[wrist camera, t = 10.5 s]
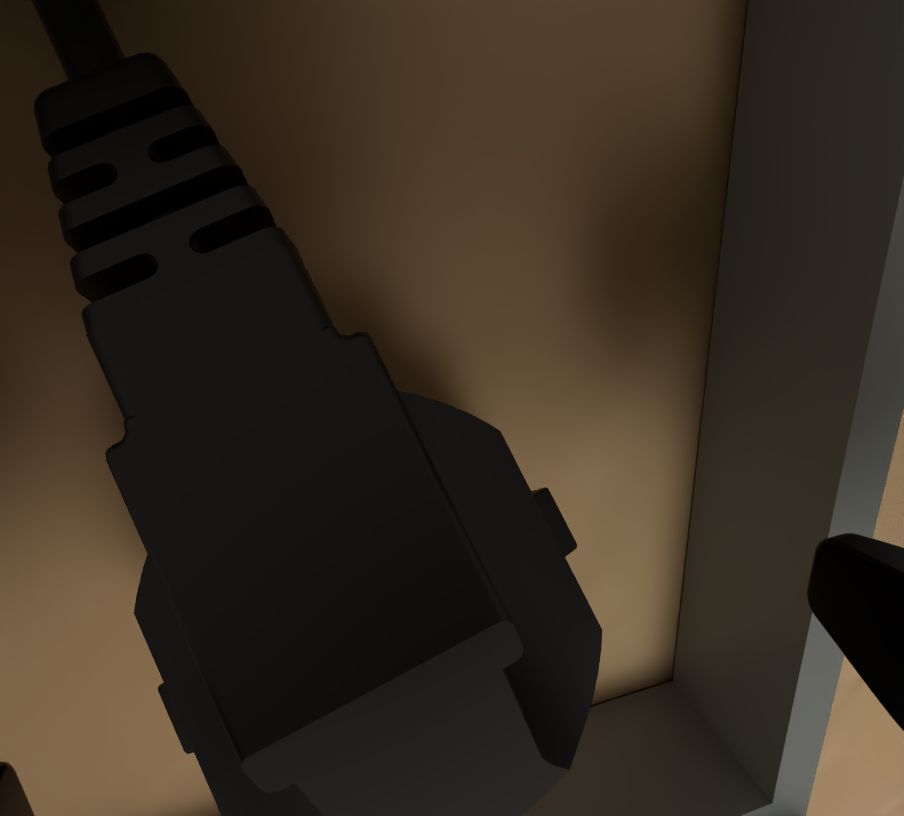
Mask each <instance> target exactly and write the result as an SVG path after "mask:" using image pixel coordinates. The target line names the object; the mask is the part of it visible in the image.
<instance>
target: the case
mask: <svg viewBox="0 0 904 816" xmlns="http://www.w3.org/2000/svg"><path fill="white" fill-rule="evenodd" d="M903 408H904V0H749V1H748V10H747V19H746V28H745V37H744V46H743V55H742V64H741V73H740V82H739V91H738V100H737V109H736V118H735V127H734V136H733V145H732V154H731V163H730V171H729V180H728V189H727V198H726V207H725V216H724V225H723V234H722V243H721V252H720V261H719V270H718V279H717V288H716V297H715V306H714V315H713V324H712V333H711V342H710V351H709V360H708V369H707V378H706V387H705V396H704V404H703V413H702V422H701V431H700V440H699V449H698V458H697V467H696V476H695V485H694V494H693V503H692V512H691V521H690V530H689V539H688V548H687V557H686V566H685V575H684V584H683V593H682V602H681V611H680V620H679V628H678V637H677V646H676V655H675V664H674V673H673V681H671V682H668V683H665V684H662V685H658V686H655V687H652V688H649V689H646V690H642V691H639V692H636V693H633V694H630V695H627V696H623V697H620V698H617V699H614V700H611V701H608V702H604V703H601V704H598V705H595V706H592V707H590V710H589V713H588V717H587V720H586V723H585V726H584V729H583V732H582V735H581V738H580V741H579V744H578V747H577V750H576V753H575V756H574V759H573V762H572V765H571V768H570V770H569V771H568V772H567V773H566V774H565V775H564V776H563V777H562V778H561V779H560V781H559V782H558V783H557V784H556V785H555V786H554V787H553V788H552V789H551V790H550V791H549V792H548V793H547V794H546V795H545V796H543V797H542V798H541V799H540V800H539V801H538V802H537V803H536V804H535V805H533V806H532V807H531V808H530V809H529V810H527V811H526V812H525V813H524V814H523V815H521V816H806V812H807V807H808V803H809V799H810V795H811V791H812V787H813V782H814V778H815V774H816V770H817V766H818V762H819V758H820V753H821V749H822V745H823V741H824V737H825V733H826V728H827V724H828V720H829V716H830V712H831V708H832V703H833V699H834V695H835V691H836V687H837V683H838V679H839V674H840V670H841V666H842V662H843V658H844V654H843V652H842V651H841V650H840V648H839V647H838V646H837V644H836V643H835V642H834V640H833V639H832V638H831V636H830V635H829V634H828V632H827V631H826V630H825V629H824V627H823V626H822V625H821V623H820V622H819V621H818V619H817V618H816V617H815V615H814V614H813V612H812V611H811V609H810V606H809V604H808V601H807V594H806V593H807V586H808V581H809V576H810V571H811V566H812V561H813V556H814V552H815V548H816V546H817V545H818V543H819V542H820V541H822V540H823V539H826V538H830V537H833V536H837V535H841V534H845V533H854V534H858V535H862V536H865V537H869V538H872V537H873V533H874V529H875V525H876V520H877V516H878V512H879V508H880V504H881V500H882V496H883V491H884V487H885V483H886V479H887V475H888V471H889V466H890V462H891V458H892V454H893V450H894V446H895V441H896V437H897V433H898V429H899V425H900V421H901V417H902V412H903Z"/></svg>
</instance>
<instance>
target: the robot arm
mask: <svg viewBox="0 0 904 816" xmlns="http://www.w3.org/2000/svg"><path fill="white" fill-rule="evenodd" d="M806 594H807V601H808V604H809V606H810V609H811V611H812V612H813V614H814V615H815V617H816V618H817V619H818V621H819V622H820V623H821V625H822V626H823V627H824V629H825V630H826V631H827V632H828V634H829V635H830V636H831V638H832V639H833V640H834V642H835V643H836V644H837V646H838V647H839V648H840V650H841V651H842V652H843V654H844V655H845V656H846V658H847V659H848V660H849V662H850V663H851V664H852V666H853V667H854V668H855V670H856V671H857V672H858V674H859V675H860V676H861V678H862V679H863V680H864V682H865V683H866V684H867V686H868V687H869V688H870V690H871V691H872V692H873V694H874V695H875V696H876V698H877V699H878V700H879V702H880V703H881V704H882V705H883V707H884V708H885V709H886V710H887V712H888V713H889V714H890V716H891V717H892V718H893V719H894V720H895V722H896V723H897V724H898V725H899V726H900V727H901V729H902V730H903V731H904V548H902V547H899V546H896V545H892V544H889V543H886V542H882V541H879V540H875V539H872V538H869V537H865V536H862V535H858V534H854V533H845V534H841V535H837V536H833V537H830V538H826V539H823V540H822V541H820V542H819V543H818V545H817V546H816V548H815V552H814V556H813V561H812V566H811V571H810V576H809V581H808V586H807V593H806ZM0 816H35V815H34V813H33V811H32V808H31V806H30V804H29V802H28V799H27V797H26V795H25V792H24V790H23V788H22V785H21V783H20V781H19V778H18V776H17V774H16V772H15V770H14V768H13V767H12V766H11V765H10V764H9V763H7V762H0Z"/></svg>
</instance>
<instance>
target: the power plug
mask: <svg viewBox="0 0 904 816" xmlns="http://www.w3.org/2000/svg"><path fill="white" fill-rule="evenodd" d="M31 1H32V3H33V5H34V7H35V9H36V11H37V13H38V16H39V18H40V20H41V22H42V24H43V26H44V29H45V31H46V33H47V35H48V37H49V39H50V41H51V44H52V46H53V48H54V50H55V52H56V54H57V57H58V59H59V61H60V63H61V65H62V67H63V69H64V72H65V74H66V76H67V78H68V81H66V82H63V83H61V84H58V85H56V86H53V87H50V88H48V89H45V90H44V91H43V92H41V93H40V94H39V95H38V96H37V98H36V100H35V101H34V113H35V117H36V122H37V126H38V130H39V134H40V139H41V143H42V146H43V148H44V150H45V151H46V152H47V153H48V154H49V155H50V157H51V158H52V159H51V160H50V162H49V163H48V167H47V169H48V173H49V177H50V181H51V186H52V190H53V192H54V194H55V196H56V197H57V198H58V199H59V200H60V201H61V202H62V203H63V204H65V205H64V206H63V207H62V208H61V209H60V210H59V214H58V216H59V220H60V224H61V229H62V233H63V237H64V240H65V242H66V243H67V244H68V245H69V246H70V247H71V248H73V249H74V250H75V251H76V252H77V253H78V254H76V255H75V256H74V257H73V258H72V259H71V261H70V267H71V271H72V276H73V280H74V284H75V288H76V290H77V292H78V293H80V294H81V295H82V296H84V297H85V298H87V299H88V300H89V301H91V302H92V303H91V304H89V305H88V306H87V307H86V308H85V309H83V311H82V318H83V321H84V325H85V328H86V332H87V337H88V340H89V342H90V344H91V346H92V349H93V351H94V353H95V355H96V357H97V360H98V362H99V364H100V366H101V368H102V371H103V373H104V375H105V377H106V379H107V382H108V384H109V386H110V388H111V390H112V393H113V395H114V397H115V399H116V401H117V404H118V406H119V408H120V410H121V412H122V415H123V417H124V419H125V421H124V428H125V436H124V438H123V439H122V440H121V441H119V442H118V443H116V444H114V445H112V446H111V447H110V448H108V449H107V451H106V453H105V455H106V461H107V463H108V466H109V468H110V470H111V472H112V475H113V477H114V479H115V481H116V484H117V486H118V488H119V490H120V493H121V495H122V497H123V499H124V502H125V504H126V506H127V508H128V511H129V513H130V515H131V517H132V520H133V522H134V524H135V526H136V529H137V531H138V533H139V535H140V538H141V540H142V542H143V544H144V547H145V549H146V551H147V553H148V555H147V558H146V561H145V564H144V567H143V571H142V575H141V579H140V584H139V588H138V592H137V597H136V603H135V610H134V614H135V617H136V619H137V621H138V624H139V626H140V628H141V631H142V633H143V635H144V638H145V640H146V642H147V644H148V647H149V649H150V651H151V654H152V656H153V658H154V661H155V663H156V665H157V668H158V670H159V672H160V675H161V677H162V679H163V681H164V683H162V684H161V685H159V687H158V692H159V694H160V696H161V699H162V701H163V703H164V706H165V708H166V710H167V713H168V715H169V717H170V719H171V722H172V724H173V726H174V729H175V731H176V733H177V736H178V738H179V740H180V743H181V745H182V747H183V750H184V751H185V753H187V754H189V753H193V752H194V753H195V755H196V758H197V760H198V762H199V765H200V767H201V769H202V772H203V774H204V776H205V778H206V781H207V783H208V785H209V788H210V790H211V792H212V795H213V797H214V799H215V802H216V804H217V806H218V809H219V811H220V813H221V815H222V816H521V815H523V814H524V813H525V812H526V811H527V810H529V809H530V808H531V807H532V806H533V805H535V804H536V803H537V802H538V801H539V800H540V799H541V798H542V797H543V796H545V795H546V794H547V793H548V792H549V791H550V790H551V789H552V788H553V787H554V786H555V785H556V784H557V783H558V782H559V781H560V779H561V778H562V777H563V776H564V775H565V774H566V773H567V772H568V771H569V770H570V768H571V765H572V762H573V759H574V756H575V753H576V750H577V747H578V744H579V741H580V738H581V735H582V732H583V729H584V726H585V723H586V720H587V717H588V713H589V710H590V706H591V703H592V699H593V695H594V690H595V685H596V680H597V676H598V670H599V662H600V654H601V643H602V629H601V627H600V625H599V623H598V621H597V619H596V617H595V615H594V613H593V611H592V609H591V607H590V605H589V603H588V601H587V599H586V597H585V595H584V594H583V592H582V590H581V588H580V586H579V584H578V582H577V580H576V578H575V576H574V574H573V572H572V570H571V568H570V566H569V564H568V562H567V560H566V558H565V557H566V556H567V555H568V554H570V553H571V552H572V551H573V550H575V549H576V548H577V543H576V541H575V539H574V538H573V536H572V534H571V532H570V530H569V528H568V526H567V524H566V522H565V520H564V518H563V516H562V514H561V512H560V510H559V508H558V507H557V505H556V503H555V501H554V499H553V497H552V495H551V493H550V491H549V489H548V488H541V489H537V490H534V491H531V490H530V488H529V486H528V484H527V482H526V480H525V478H524V476H523V475H522V473H521V471H520V469H519V467H518V465H517V463H516V461H515V459H514V457H513V455H512V453H511V451H510V449H509V447H508V445H507V443H506V441H505V439H504V437H503V436H502V434H501V432H500V431H499V430H498V429H496V428H494V427H493V426H491V425H490V424H488V423H486V422H484V421H482V420H480V419H479V418H477V417H475V416H473V415H471V414H469V413H467V412H464V411H462V410H460V409H457V408H455V407H452V406H450V405H448V404H444V403H442V402H439V401H435V400H431V399H428V398H425V397H422V396H418V395H413V394H409V393H405V392H400V391H397V389H396V387H395V385H394V383H393V381H392V379H391V377H390V375H389V373H388V371H387V369H386V367H385V365H384V363H383V361H382V359H381V357H380V355H379V353H378V351H377V349H376V347H375V345H374V343H373V341H372V339H371V337H370V336H369V335H368V334H367V333H365V332H357V333H354V334H352V335H349V336H346V335H342V334H340V333H339V332H338V330H337V329H336V328H335V326H334V324H333V322H332V320H331V318H330V316H329V314H328V312H327V310H326V308H325V305H324V303H323V301H322V299H321V297H320V295H319V293H318V291H317V289H316V287H315V285H314V283H313V281H312V279H311V277H310V275H309V273H308V271H307V269H306V267H305V265H304V263H303V261H302V259H301V257H300V255H299V253H298V251H297V249H296V247H295V245H294V244H293V243H292V241H291V240H290V238H289V237H288V235H287V234H286V233H285V231H284V230H283V229H282V228H280V227H276V224H275V222H274V219H273V217H272V215H271V212H270V210H269V209H268V207H267V206H266V204H265V203H264V201H263V200H262V199H261V197H260V196H259V194H258V193H257V192H256V190H255V189H254V188H253V187H251V186H249V185H248V183H247V181H246V179H245V177H244V175H243V173H242V170H241V169H240V167H239V166H238V165H237V163H236V162H235V160H234V159H233V157H232V156H231V155H230V153H229V152H228V150H227V149H226V148H225V147H224V146H221V145H220V143H219V141H218V139H217V137H216V135H215V133H214V131H213V129H212V128H211V126H210V125H209V123H208V122H207V121H206V119H205V118H204V116H203V115H202V114H201V112H200V111H199V110H198V109H197V108H196V107H194V105H193V104H192V102H191V100H190V98H189V96H188V94H187V92H186V91H185V89H184V88H183V87H182V85H181V84H180V82H179V81H178V80H177V78H176V77H175V75H174V74H173V72H172V71H171V70H170V68H169V67H168V65H167V64H166V63H165V62H164V61H163V60H162V59H161V58H159V57H158V56H157V55H155V54H152V53H148V52H147V53H138V54H136V55H133V56H130V57H128V58H125V56H124V54H123V52H122V50H121V48H120V46H119V44H118V42H117V40H116V37H115V35H114V33H113V31H112V29H111V27H110V25H109V23H108V21H107V19H106V17H105V14H104V12H103V10H102V8H101V6H100V4H99V2H98V0H31Z"/></svg>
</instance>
